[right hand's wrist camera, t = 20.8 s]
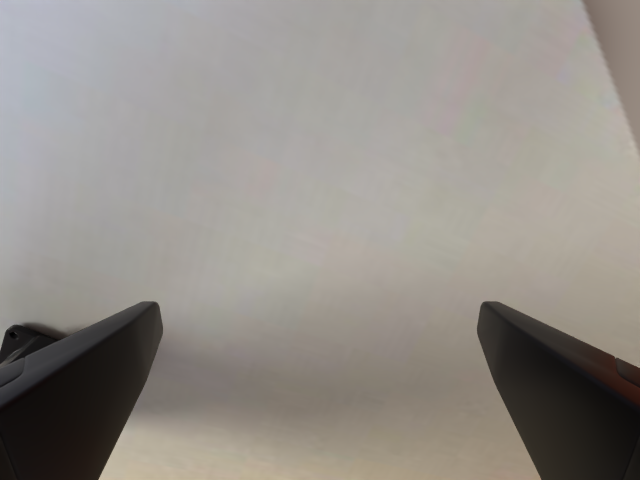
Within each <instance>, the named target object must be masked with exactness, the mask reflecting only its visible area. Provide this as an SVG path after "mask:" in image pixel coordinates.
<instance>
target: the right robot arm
mask: <svg viewBox="0 0 640 480" xmlns="http://www.w3.org/2000/svg"><path fill="white" fill-rule="evenodd" d="M16 333H17V334H18V335H17V334H16ZM162 334H163V325H162V319H161V313H160V307H159V305H158V303H157V302H154V301H144V302H140V303H138V304H136V305H134V306H132V307H130V308H127V309H125V310H123V311H121V312H119V313H117V314H115V315H113V316H110V317H108V318H106V319H104V320H102V321H100V322H98V323H96V324H93V325H91V326H89V327H87V328H85V329H83V330H81V331H79V332H76V333H74V334H72V335H70V336H68V337H66V338H64V339H62V340H56V339H54V338H51V337H48V336H46V335H43V334H41V333H38V332H36V331H33V330H30V329H28V328H25V327H23V326H20V325H13V326H11V327H10V328H9V329H7V330H6V332H5V336H4V339H3V343H2V347H1V350H0V480H98V479H99V477H100V475H101V473H102V471H103V469H104V467H105V465H106V463H107V461H108V459H109V457H110V455H111V453H112V451H113V449H114V447H115V444H116V442H117V440H118V438H119V436H120V434H121V432H122V430H123V428H124V426H125V424H126V422H127V420H128V418H129V416H130V414H131V412H132V410H133V408H134V405H135V403H136V401H137V399H138V397H139V395H140V393H141V391H142V389H143V387H144V385H145V382H146V380H147V377H148V375H149V372H150V369H151V366H152V363H153V360H154V358H155V355H156V352H157V349H158V346H159V343H160V340H161V337H162ZM477 334H478V337H479V340H480V343H481V346H482V349H483V352H484V355H485V358H486V360H487V363H488V366H489V369H490V372H491V375H492V377H493V380H494V382H495V385H496V387H497V389H498V391H499V393H500V395H501V397H502V399H503V401H504V403H505V405H506V408H507V410H508V412H509V414H510V416H511V418H512V420H513V422H514V424H515V426H516V428H517V430H518V432H519V434H520V436H521V438H522V440H523V442H524V444H525V447H526V449H527V451H528V453H529V455H530V457H531V459H532V461H533V463H534V465H535V467H536V469H537V471H538V473H539V475H540V477H541V479H542V480H640V368H638V367H636V366H634V365H632V364H629V363H627V362H625V361H623V360H621V359H619V358H616V359H615V357H614V356H612V355H610V354H608V353H606V352H604V351H602V350H600V349H598V348H595V347H593V346H591V345H589V344H587V343H585V342H583V341H581V340H578V339H576V338H574V337H572V336H570V335H568V334H566V333H564V332H561V331H559V330H557V329H555V328H553V327H551V326H549V325H547V324H544V323H542V322H540V321H538V320H536V319H534V318H532V317H530V316H527V315H525V314H523V313H521V312H519V311H517V310H515V309H513V308H510V307H508V306H506V305H504V304H502V303H500V302H496V301H486V302H483V303H482V305H481V307H480V313H479V319H478V325H477Z"/></svg>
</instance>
